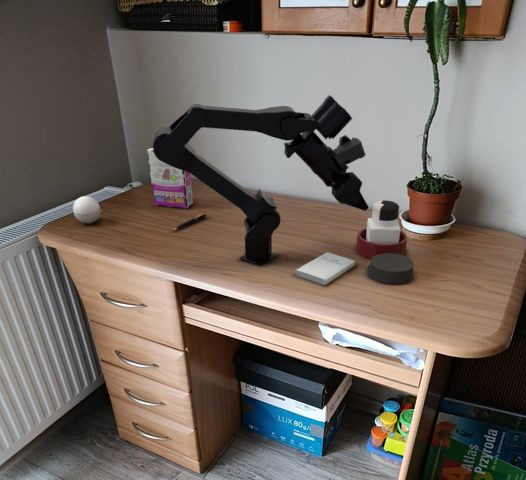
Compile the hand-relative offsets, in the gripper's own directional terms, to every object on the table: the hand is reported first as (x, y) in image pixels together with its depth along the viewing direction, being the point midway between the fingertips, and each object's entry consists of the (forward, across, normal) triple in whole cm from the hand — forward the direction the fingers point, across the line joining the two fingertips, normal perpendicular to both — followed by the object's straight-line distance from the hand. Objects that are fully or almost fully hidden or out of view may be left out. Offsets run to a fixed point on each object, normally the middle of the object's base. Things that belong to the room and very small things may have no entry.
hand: (361, 202), depth 120 cm
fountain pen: (-20, +25, +38) cm, 49 cm away
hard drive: (+2, -9, +16) cm, 18 cm away
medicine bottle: (+13, 0, +5) cm, 14 cm away
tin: (+13, 0, +4) cm, 14 cm away
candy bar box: (-23, +42, +41) cm, 63 cm away
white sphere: (-39, +30, +56) cm, 75 cm away
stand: (+12, -13, +6) cm, 18 cm away
